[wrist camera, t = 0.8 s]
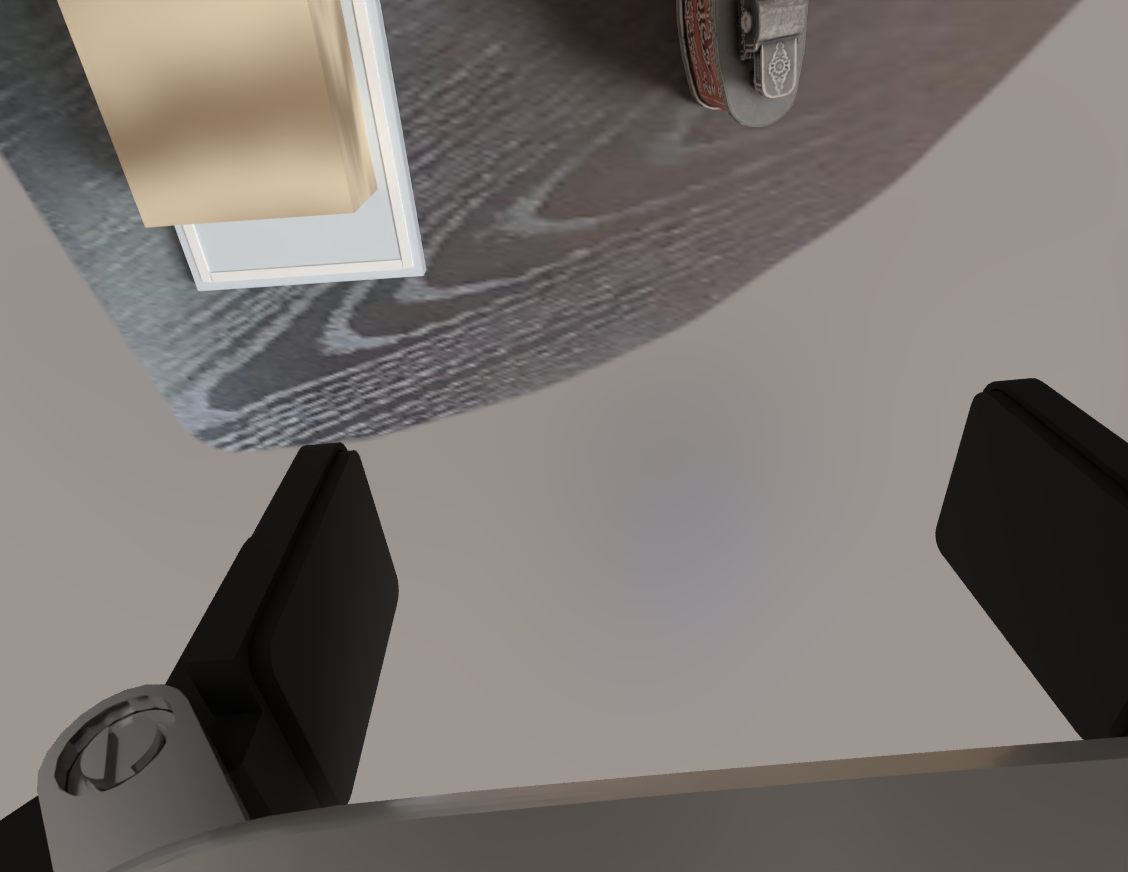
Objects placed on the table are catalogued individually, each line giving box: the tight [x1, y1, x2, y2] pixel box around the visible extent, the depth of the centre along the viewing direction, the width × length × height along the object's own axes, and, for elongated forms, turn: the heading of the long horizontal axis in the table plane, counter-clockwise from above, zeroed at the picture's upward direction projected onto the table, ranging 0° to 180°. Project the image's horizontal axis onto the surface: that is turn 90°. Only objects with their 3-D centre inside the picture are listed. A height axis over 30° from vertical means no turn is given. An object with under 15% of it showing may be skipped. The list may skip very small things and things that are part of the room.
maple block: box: [57, 0, 378, 227], centre depth 28 cm, size 9×9×5 cm
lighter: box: [676, 0, 808, 127], centre depth 26 cm, size 8×3×10 cm, turn 10°
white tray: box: [174, 0, 426, 291], centre depth 31 cm, size 18×12×1 cm, turn 3°
